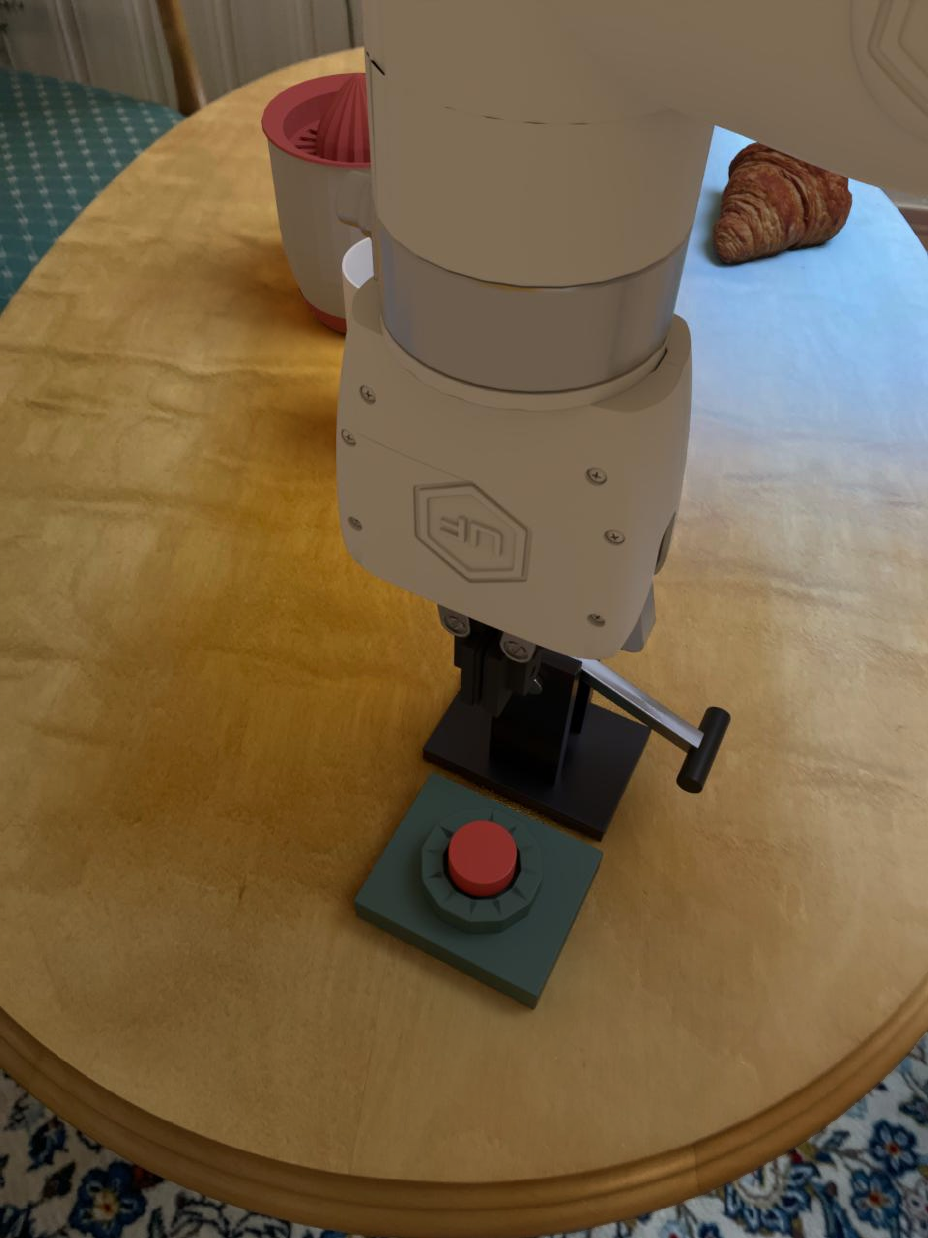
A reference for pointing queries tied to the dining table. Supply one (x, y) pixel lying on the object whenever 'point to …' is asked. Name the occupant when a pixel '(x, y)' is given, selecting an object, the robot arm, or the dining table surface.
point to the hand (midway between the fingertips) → (495, 682)
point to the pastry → (777, 205)
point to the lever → (664, 722)
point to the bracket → (545, 748)
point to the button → (482, 858)
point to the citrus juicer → (318, 181)
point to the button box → (472, 925)
